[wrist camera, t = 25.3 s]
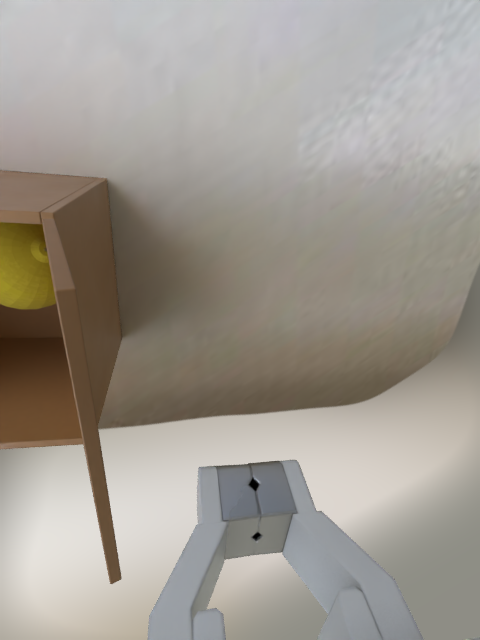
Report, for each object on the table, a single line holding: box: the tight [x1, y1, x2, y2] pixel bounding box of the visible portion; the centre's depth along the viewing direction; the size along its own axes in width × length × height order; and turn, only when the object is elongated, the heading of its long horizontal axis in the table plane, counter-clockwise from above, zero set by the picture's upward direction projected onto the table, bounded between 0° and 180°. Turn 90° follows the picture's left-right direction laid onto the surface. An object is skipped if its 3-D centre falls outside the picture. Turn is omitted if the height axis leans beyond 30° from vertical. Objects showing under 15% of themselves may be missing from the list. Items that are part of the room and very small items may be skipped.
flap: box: [42, 219, 121, 584], centre depth 12 cm, size 12×6×1 cm
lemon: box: [0, 222, 56, 309], centre depth 18 cm, size 6×6×8 cm
